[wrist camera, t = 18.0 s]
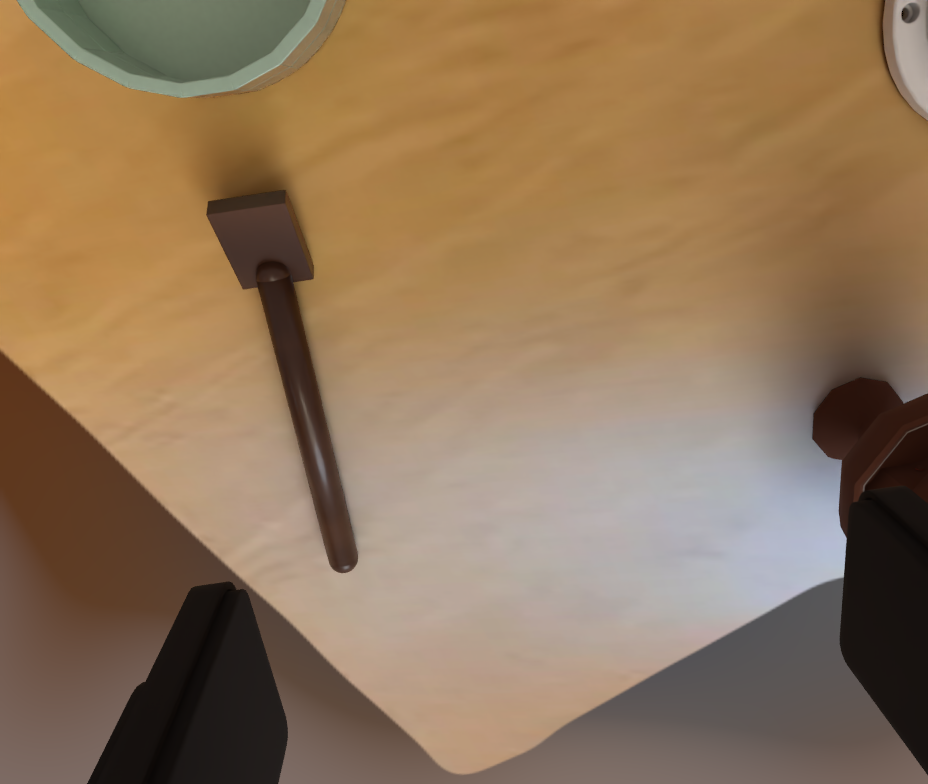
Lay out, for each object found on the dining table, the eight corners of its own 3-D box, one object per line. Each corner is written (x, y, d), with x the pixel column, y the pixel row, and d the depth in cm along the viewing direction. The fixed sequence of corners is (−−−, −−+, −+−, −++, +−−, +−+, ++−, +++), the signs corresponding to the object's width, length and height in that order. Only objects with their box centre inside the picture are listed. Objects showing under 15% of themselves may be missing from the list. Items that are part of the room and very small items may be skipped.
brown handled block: (207, 200, 35) (181, 393, 29) (286, 189, 35) (277, 379, 29) (317, 428, 52) (316, 581, 46) (370, 420, 52) (377, 572, 46)
